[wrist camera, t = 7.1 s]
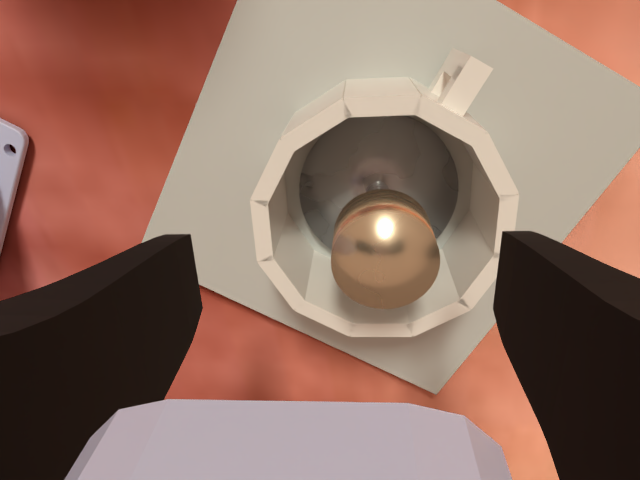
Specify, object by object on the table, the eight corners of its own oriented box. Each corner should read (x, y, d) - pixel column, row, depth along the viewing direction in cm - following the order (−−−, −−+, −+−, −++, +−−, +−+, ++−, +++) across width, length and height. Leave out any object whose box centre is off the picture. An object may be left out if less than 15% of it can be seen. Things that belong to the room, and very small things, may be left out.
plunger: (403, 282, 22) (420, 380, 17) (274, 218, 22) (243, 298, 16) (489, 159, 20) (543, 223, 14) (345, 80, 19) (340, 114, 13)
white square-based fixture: (434, 383, 26) (450, 463, 21) (143, 247, 24) (92, 304, 19) (661, 103, 19) (753, 132, 15) (289, -120, 17) (266, -166, 13)
